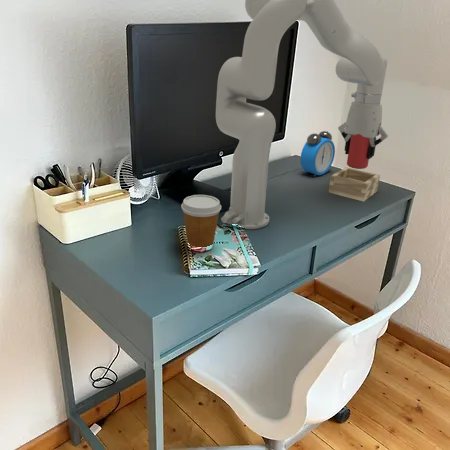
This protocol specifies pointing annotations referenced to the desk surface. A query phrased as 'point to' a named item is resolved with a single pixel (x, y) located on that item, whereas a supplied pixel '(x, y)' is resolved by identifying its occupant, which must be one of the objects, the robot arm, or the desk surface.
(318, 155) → the alarm clock
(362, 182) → the wooden box
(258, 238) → the desk surface
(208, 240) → the disposable coffee cup
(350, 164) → the beer can
